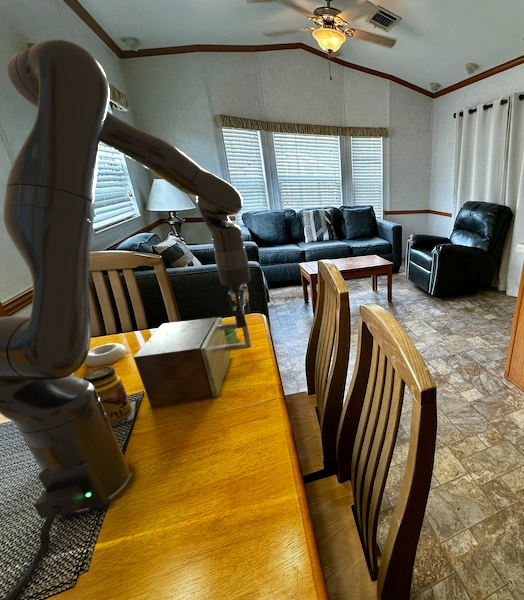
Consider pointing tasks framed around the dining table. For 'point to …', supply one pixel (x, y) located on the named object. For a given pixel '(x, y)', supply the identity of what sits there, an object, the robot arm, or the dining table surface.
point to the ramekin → (231, 336)
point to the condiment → (111, 394)
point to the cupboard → (175, 363)
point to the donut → (105, 354)
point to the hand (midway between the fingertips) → (244, 320)
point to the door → (220, 352)
